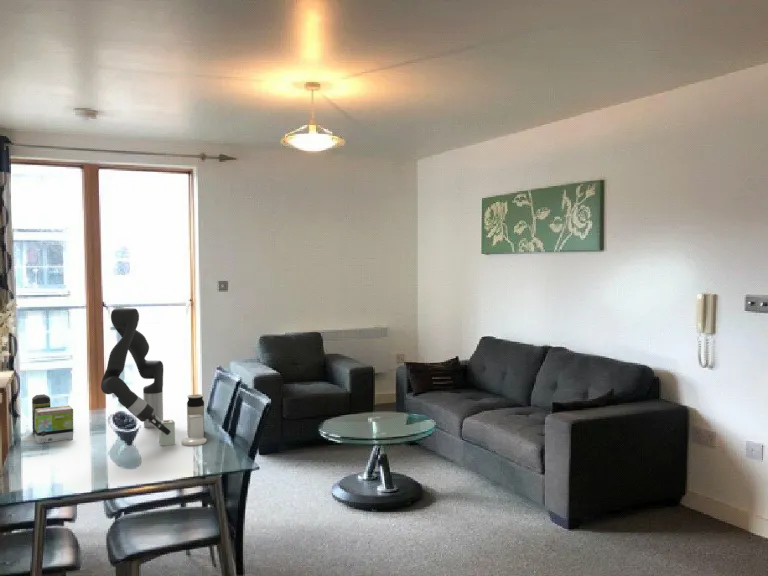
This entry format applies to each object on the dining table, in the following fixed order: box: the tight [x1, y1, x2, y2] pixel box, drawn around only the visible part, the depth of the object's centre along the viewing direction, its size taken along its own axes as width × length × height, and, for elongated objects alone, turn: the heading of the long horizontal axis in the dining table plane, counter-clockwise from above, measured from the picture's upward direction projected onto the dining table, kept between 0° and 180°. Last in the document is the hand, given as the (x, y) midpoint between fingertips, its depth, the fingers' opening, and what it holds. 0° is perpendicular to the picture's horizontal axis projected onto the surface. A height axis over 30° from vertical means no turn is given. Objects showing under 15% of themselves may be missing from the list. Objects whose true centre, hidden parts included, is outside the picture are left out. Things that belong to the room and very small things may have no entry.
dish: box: [180, 437, 207, 447], centre depth 298 cm, size 11×11×1 cm
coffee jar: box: [31, 394, 52, 435], centre depth 319 cm, size 10×8×19 cm
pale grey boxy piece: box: [158, 419, 176, 447], centre depth 297 cm, size 6×6×10 cm
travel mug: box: [186, 393, 206, 432], centre depth 317 cm, size 8×8×18 cm
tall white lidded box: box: [187, 414, 205, 438], centre depth 309 cm, size 6×6×10 cm
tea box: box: [34, 404, 74, 444], centre depth 306 cm, size 15×10×15 cm, turn 126°
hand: (167, 431), depth 297 cm, fingers open, 8 cm apart
